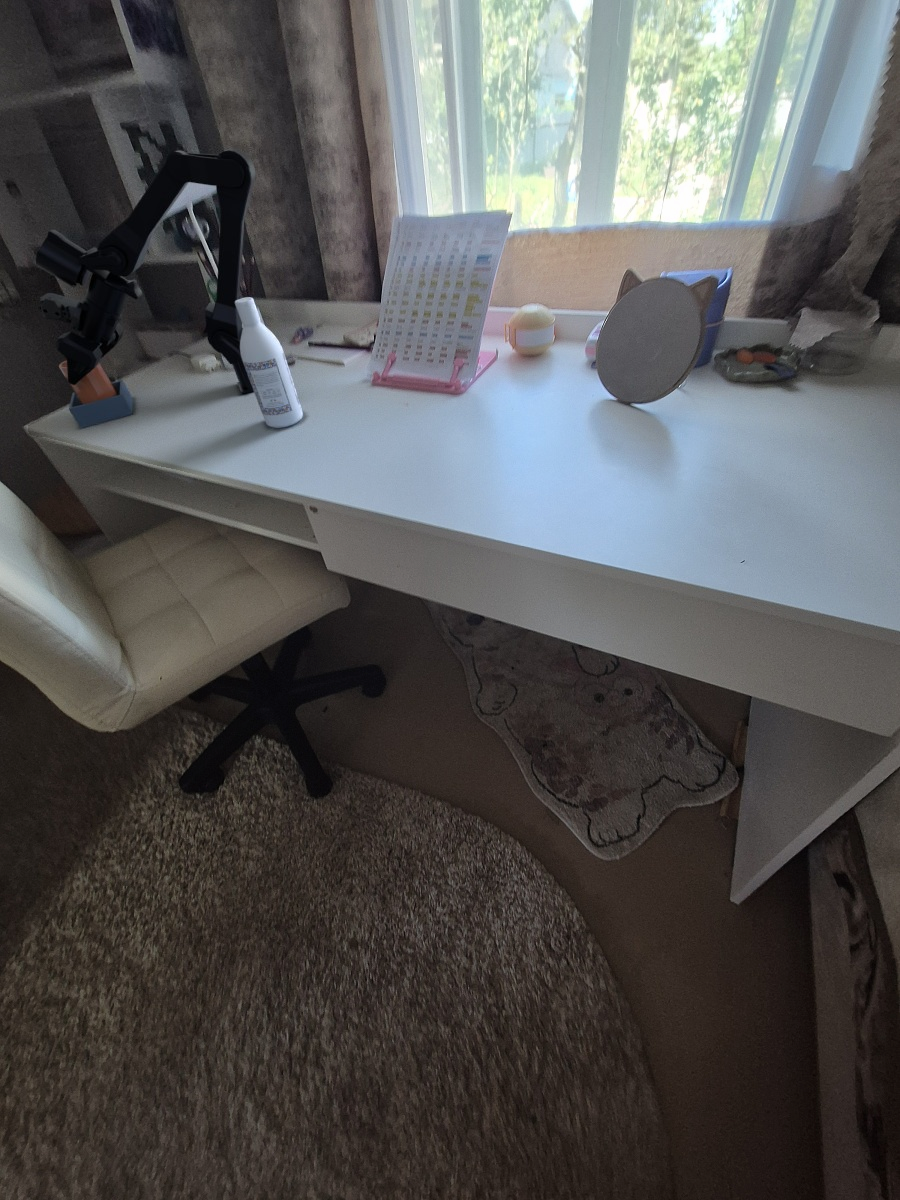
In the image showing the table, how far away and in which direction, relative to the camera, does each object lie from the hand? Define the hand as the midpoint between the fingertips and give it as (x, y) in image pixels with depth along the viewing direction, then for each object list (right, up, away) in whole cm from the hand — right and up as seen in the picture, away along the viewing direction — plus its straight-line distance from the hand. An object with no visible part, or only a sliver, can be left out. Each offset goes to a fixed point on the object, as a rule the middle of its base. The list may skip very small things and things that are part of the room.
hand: (79, 375), depth 104 cm
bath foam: (+43, -12, -8) cm, 46 cm away
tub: (+2, -6, +5) cm, 8 cm away
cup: (+2, -5, +5) cm, 8 cm away
